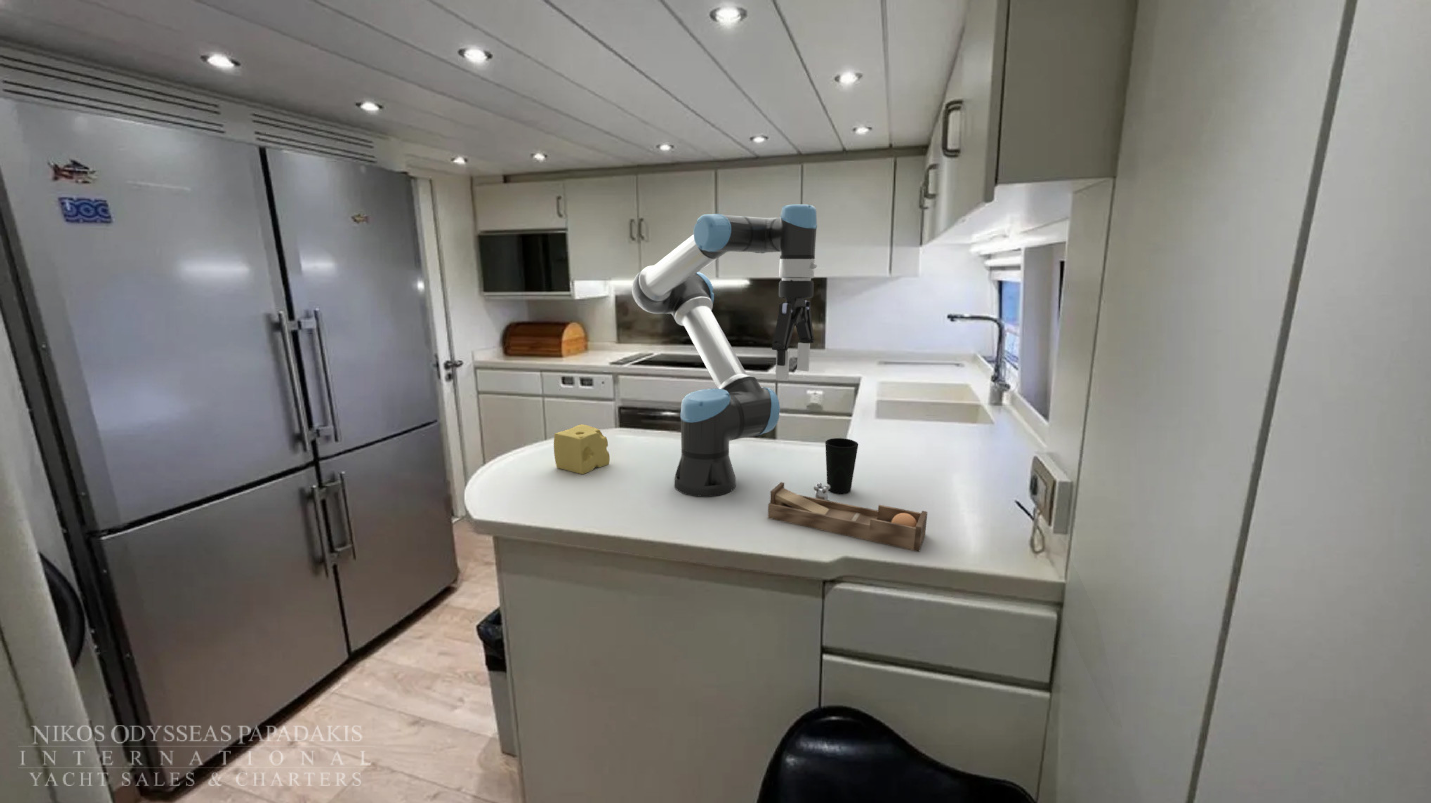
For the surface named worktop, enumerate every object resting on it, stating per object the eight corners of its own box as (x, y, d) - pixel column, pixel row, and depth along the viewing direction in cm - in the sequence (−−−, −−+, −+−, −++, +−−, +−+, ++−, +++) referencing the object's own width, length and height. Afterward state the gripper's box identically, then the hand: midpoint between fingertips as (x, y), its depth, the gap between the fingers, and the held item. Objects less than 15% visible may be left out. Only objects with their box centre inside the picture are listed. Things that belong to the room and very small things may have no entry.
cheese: (610, 464, 154) (608, 429, 151) (581, 476, 145) (579, 439, 142) (582, 457, 159) (581, 423, 157) (553, 468, 150) (551, 432, 148)
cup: (855, 497, 132) (858, 448, 129) (822, 494, 134) (825, 446, 131) (854, 485, 139) (857, 439, 137) (823, 482, 141) (825, 437, 138)
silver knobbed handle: (806, 507, 126) (807, 486, 125) (813, 499, 131) (814, 479, 130) (828, 511, 124) (829, 490, 123) (835, 503, 128) (836, 483, 127)
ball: (896, 513, 109) (884, 532, 111) (920, 528, 107) (907, 547, 109) (901, 504, 113) (889, 523, 115) (924, 518, 112) (911, 537, 113)
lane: (768, 517, 121) (768, 492, 119) (781, 504, 128) (782, 480, 126) (919, 551, 107) (921, 523, 105) (925, 534, 114) (927, 507, 112)
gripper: (792, 280, 110) (789, 386, 115) (829, 279, 132) (825, 368, 137) (757, 280, 114) (755, 382, 118) (799, 278, 135) (796, 365, 140)
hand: (792, 375), depth 128 cm, fingers open, 13 cm apart
